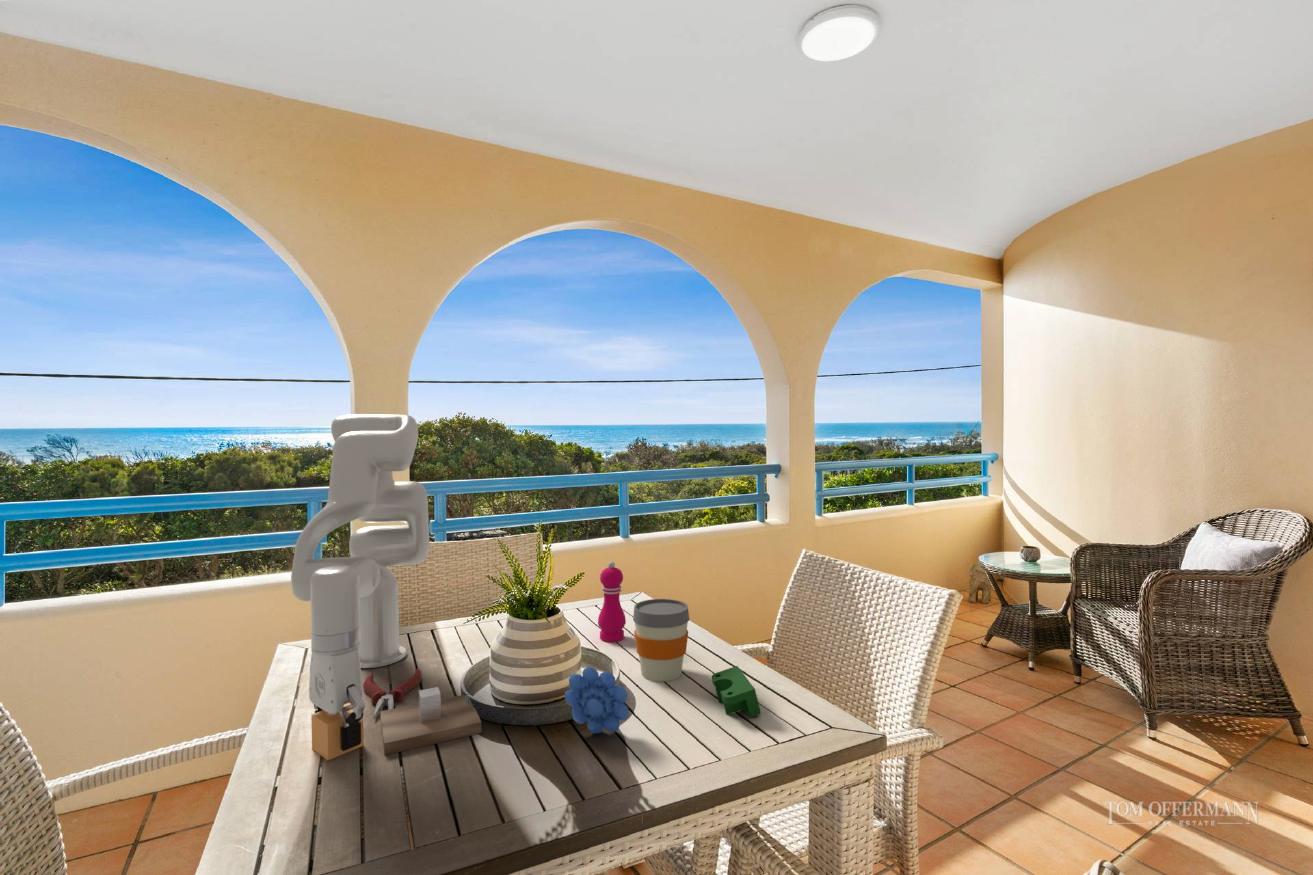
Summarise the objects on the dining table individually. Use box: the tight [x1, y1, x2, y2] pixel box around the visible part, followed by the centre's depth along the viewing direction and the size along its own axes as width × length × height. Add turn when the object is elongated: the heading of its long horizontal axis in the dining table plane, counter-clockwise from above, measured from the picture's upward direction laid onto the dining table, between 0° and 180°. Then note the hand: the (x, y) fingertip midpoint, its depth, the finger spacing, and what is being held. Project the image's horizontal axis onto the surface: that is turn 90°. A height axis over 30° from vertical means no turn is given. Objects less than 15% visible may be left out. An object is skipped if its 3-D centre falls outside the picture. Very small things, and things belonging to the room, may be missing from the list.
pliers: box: [362, 668, 423, 719], centre depth 125 cm, size 11×20×3 cm, turn 17°
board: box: [379, 686, 482, 756], centre depth 112 cm, size 13×16×6 cm
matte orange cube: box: [310, 703, 365, 761], centre depth 106 cm, size 6×6×6 cm
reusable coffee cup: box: [632, 598, 690, 683], centre depth 136 cm, size 13×13×15 cm
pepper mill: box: [597, 561, 627, 643], centre depth 159 cm, size 7×7×20 cm
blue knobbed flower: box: [564, 666, 630, 735], centre depth 109 cm, size 12×7×12 cm, turn 87°
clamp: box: [711, 665, 762, 718], centre depth 120 cm, size 12×6×9 cm, turn 4°
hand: (337, 738), depth 106 cm, fingers open, 9 cm apart
